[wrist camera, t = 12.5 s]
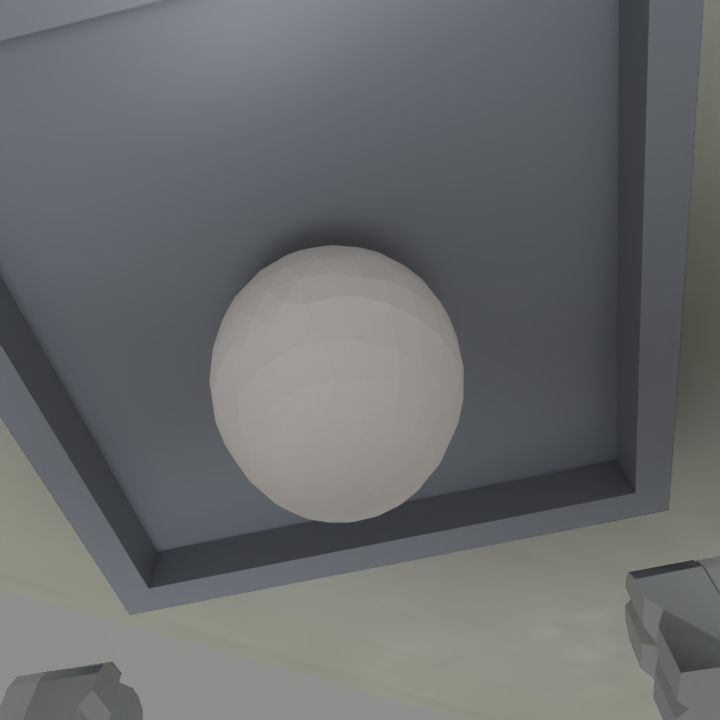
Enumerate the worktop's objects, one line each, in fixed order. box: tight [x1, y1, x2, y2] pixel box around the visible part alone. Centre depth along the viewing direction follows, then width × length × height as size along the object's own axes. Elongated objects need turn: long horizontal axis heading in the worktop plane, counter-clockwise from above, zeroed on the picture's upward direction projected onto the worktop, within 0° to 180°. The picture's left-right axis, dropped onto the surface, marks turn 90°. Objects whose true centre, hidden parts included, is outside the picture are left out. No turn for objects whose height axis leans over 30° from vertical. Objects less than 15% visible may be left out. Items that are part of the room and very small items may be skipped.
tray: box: [0, 0, 704, 615], centre depth 20 cm, size 20×20×2 cm
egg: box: [209, 245, 464, 523], centre depth 17 cm, size 6×6×8 cm
